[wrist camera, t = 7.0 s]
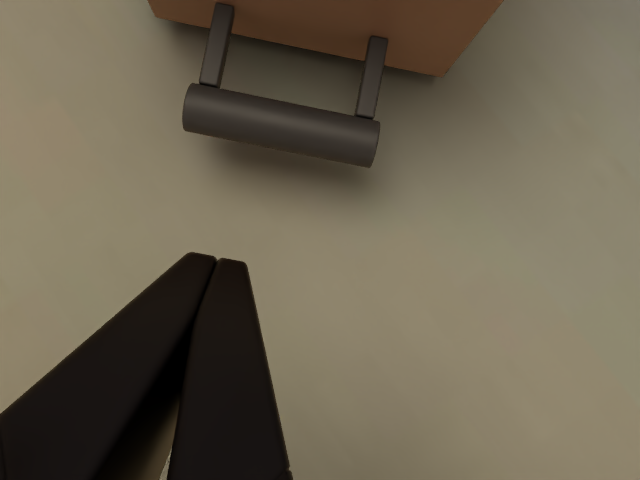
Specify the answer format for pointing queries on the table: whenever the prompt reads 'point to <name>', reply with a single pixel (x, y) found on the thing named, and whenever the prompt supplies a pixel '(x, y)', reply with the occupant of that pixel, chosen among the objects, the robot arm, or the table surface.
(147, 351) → the robot arm
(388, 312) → the table surface
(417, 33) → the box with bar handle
